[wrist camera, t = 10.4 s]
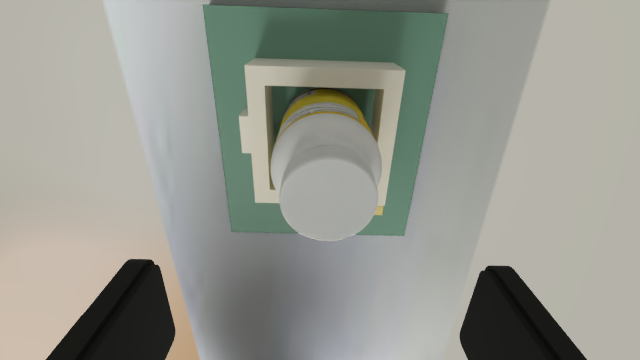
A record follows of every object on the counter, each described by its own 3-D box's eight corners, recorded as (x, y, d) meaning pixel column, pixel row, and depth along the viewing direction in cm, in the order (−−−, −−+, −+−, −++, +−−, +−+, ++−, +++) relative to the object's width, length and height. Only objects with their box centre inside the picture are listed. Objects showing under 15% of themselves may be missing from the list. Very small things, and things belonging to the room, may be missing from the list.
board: (400, 226, 27) (413, 261, 23) (235, 222, 26) (221, 257, 23) (440, 13, 19) (470, 13, 15) (209, 5, 19) (182, 3, 15)
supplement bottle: (353, 167, 23) (376, 263, 14) (278, 155, 22) (253, 247, 13) (372, 92, 20) (413, 152, 11) (288, 77, 20) (265, 128, 11)
